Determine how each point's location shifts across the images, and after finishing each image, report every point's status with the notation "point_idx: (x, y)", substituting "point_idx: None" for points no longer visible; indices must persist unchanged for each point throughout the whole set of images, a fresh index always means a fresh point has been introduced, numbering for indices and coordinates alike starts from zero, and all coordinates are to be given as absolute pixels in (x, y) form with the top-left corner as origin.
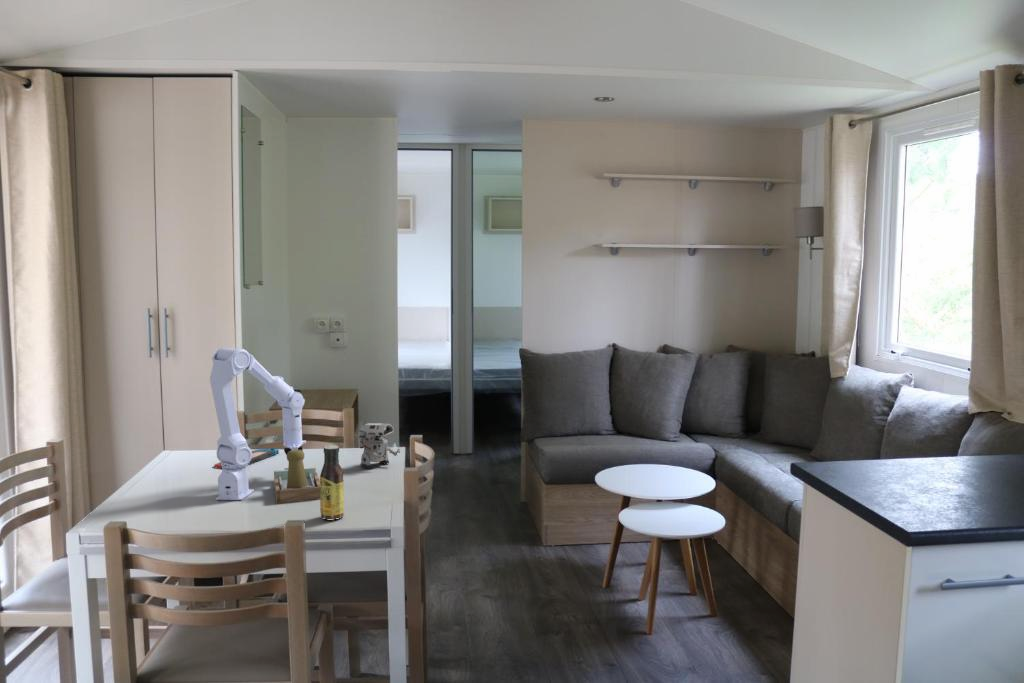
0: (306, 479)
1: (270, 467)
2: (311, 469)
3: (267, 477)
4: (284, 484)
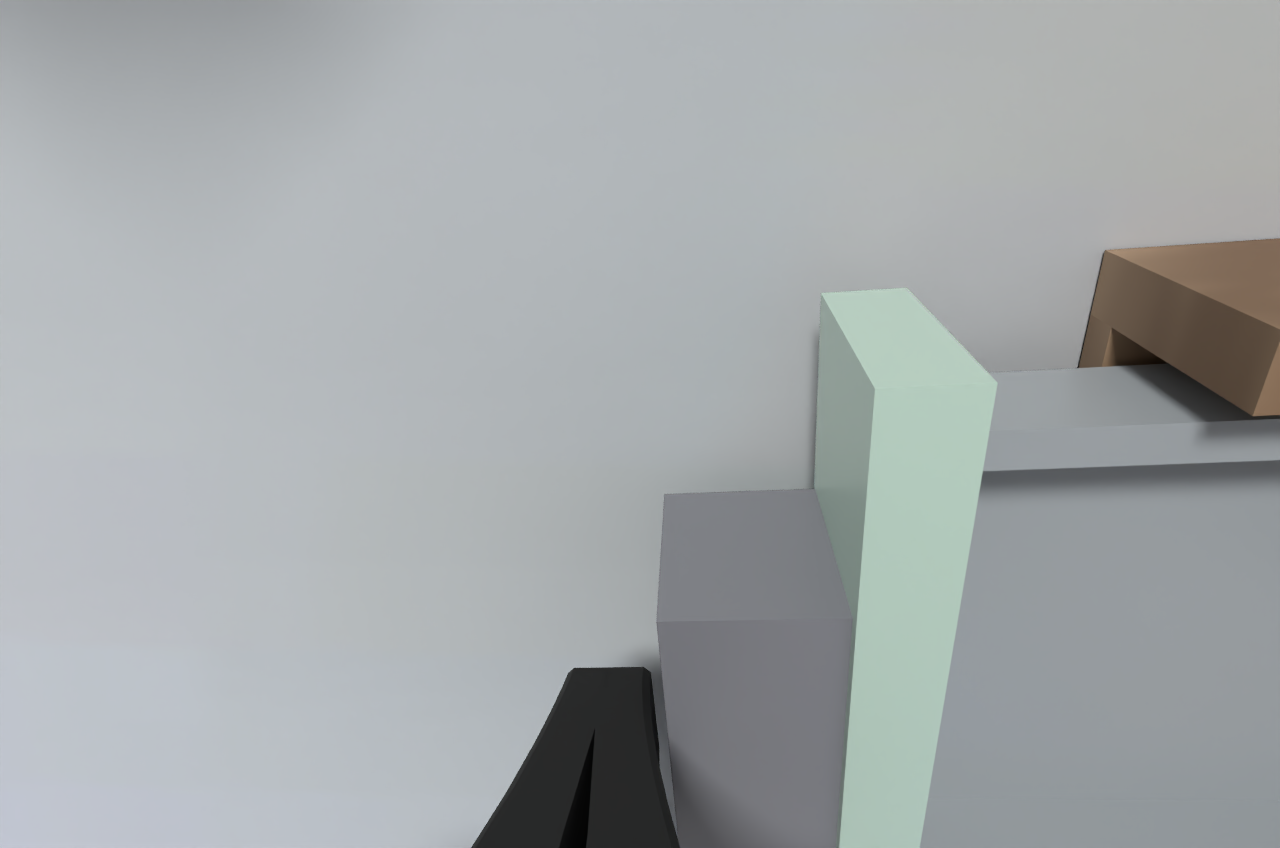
0: (1074, 484)
1: (15, 795)
2: (964, 469)
3: (462, 830)
4: (1180, 774)
